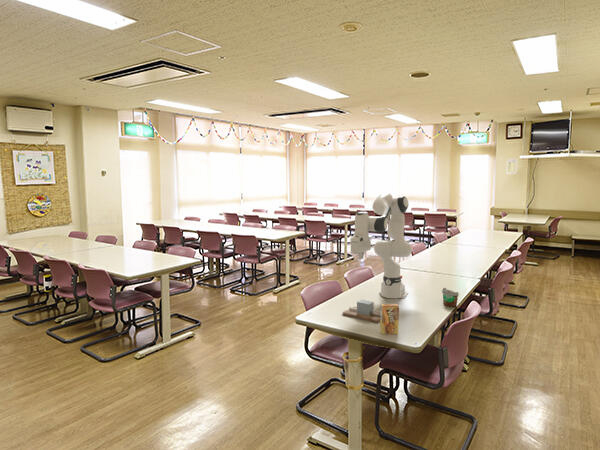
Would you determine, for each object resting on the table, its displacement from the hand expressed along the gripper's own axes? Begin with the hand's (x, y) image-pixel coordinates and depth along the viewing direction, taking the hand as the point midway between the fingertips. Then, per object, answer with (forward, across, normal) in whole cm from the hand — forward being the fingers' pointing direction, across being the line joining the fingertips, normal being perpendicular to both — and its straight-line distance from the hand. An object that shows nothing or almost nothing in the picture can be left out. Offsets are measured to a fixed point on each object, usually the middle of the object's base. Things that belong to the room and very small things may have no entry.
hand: (361, 258), depth 248 cm
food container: (+31, -37, +44) cm, 65 cm away
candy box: (+31, +30, +34) cm, 55 cm away
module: (+30, +14, +11) cm, 34 cm away
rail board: (+31, +14, +11) cm, 36 cm away
